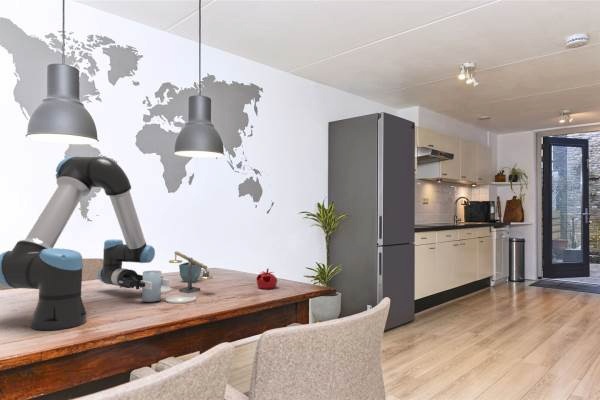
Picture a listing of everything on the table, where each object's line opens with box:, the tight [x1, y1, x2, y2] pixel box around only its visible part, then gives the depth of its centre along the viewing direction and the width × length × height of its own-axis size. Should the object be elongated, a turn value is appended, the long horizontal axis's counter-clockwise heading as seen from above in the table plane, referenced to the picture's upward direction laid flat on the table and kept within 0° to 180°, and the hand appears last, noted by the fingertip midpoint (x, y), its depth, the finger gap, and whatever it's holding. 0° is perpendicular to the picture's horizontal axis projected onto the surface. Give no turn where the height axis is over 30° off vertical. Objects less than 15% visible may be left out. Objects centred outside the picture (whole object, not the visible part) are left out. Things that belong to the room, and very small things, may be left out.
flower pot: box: [178, 261, 203, 283], centre depth 203 cm, size 9×9×9 cm
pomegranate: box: [256, 268, 278, 290], centre depth 191 cm, size 10×10×9 cm
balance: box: [168, 251, 214, 294], centre depth 180 cm, size 7×26×17 cm, turn 56°
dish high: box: [161, 286, 172, 294], centre depth 178 cm, size 12×12×1 cm
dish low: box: [165, 293, 197, 305], centre depth 162 cm, size 12×12×1 cm
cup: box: [141, 270, 162, 302], centre depth 159 cm, size 7×7×11 cm
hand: (159, 284), depth 156 cm, fingers closed on cup, 7 cm apart
